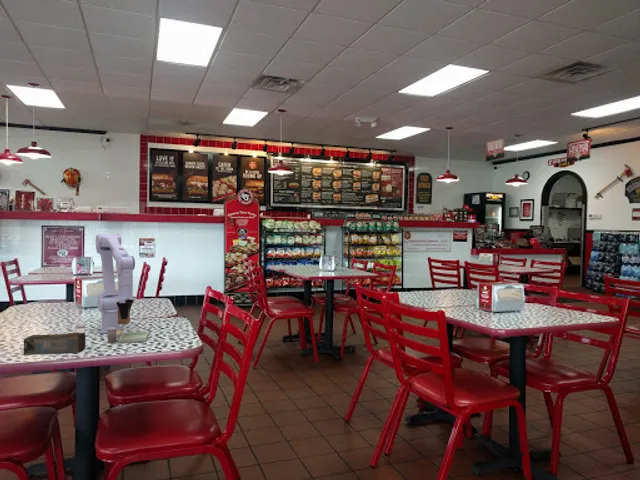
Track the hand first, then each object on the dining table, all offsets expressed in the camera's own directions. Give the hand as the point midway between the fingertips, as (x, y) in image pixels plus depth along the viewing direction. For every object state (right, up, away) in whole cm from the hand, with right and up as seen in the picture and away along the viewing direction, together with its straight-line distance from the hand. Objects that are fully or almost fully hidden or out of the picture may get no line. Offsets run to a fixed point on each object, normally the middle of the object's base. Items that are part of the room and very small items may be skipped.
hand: (125, 318), depth 194 cm
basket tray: (+3, -9, +1) cm, 10 cm away
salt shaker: (-18, -9, 0) cm, 21 cm away
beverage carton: (-18, -10, -20) cm, 28 cm away
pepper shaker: (-3, -9, -5) cm, 11 cm away
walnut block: (0, -2, 0) cm, 2 cm away
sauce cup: (-5, -9, +6) cm, 12 cm away
